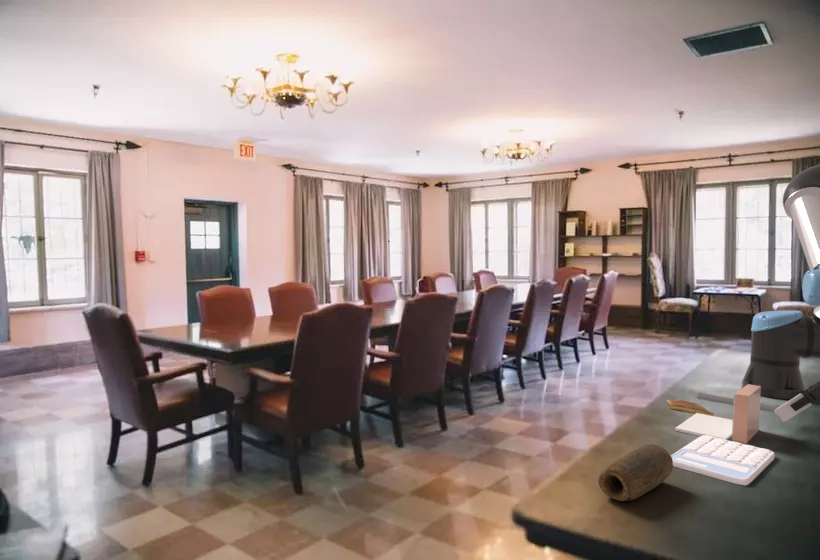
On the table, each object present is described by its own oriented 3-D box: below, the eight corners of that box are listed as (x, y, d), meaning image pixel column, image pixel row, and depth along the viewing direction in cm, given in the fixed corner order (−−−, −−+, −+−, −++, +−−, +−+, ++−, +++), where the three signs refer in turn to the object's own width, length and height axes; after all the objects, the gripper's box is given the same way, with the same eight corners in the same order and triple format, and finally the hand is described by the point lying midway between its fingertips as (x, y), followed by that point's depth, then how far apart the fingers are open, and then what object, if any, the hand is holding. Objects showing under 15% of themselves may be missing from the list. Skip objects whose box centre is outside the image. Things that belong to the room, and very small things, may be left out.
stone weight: (633, 472, 98) (635, 435, 97) (674, 484, 93) (676, 446, 92) (593, 498, 87) (594, 457, 87) (637, 513, 82) (639, 470, 82)
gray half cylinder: (700, 397, 151) (700, 391, 151) (785, 412, 138) (785, 405, 138) (695, 400, 148) (696, 394, 148) (782, 416, 135) (782, 409, 135)
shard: (713, 419, 131) (713, 412, 131) (680, 418, 131) (681, 411, 131) (692, 406, 142) (692, 399, 141) (662, 405, 142) (662, 399, 142)
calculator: (776, 459, 106) (776, 449, 106) (746, 490, 92) (746, 478, 92) (701, 441, 115) (702, 432, 115) (664, 466, 101) (665, 456, 101)
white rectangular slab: (696, 415, 132) (696, 412, 132) (743, 424, 126) (743, 422, 125) (675, 430, 121) (675, 427, 121) (725, 441, 114) (725, 438, 114)
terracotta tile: (744, 427, 124) (746, 384, 123) (758, 430, 122) (760, 386, 121) (731, 440, 115) (733, 393, 114) (746, 443, 113) (748, 396, 112)
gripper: (908, 367, 95) (788, 438, 107) (909, 358, 105) (799, 424, 117) (870, 334, 99) (758, 406, 111) (874, 327, 108) (771, 395, 120)
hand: (779, 415), depth 114 cm, fingers closed
